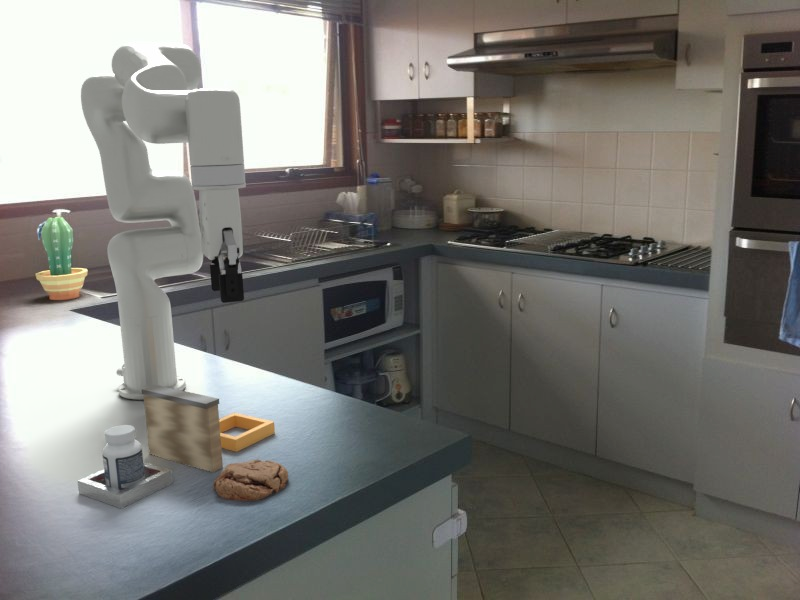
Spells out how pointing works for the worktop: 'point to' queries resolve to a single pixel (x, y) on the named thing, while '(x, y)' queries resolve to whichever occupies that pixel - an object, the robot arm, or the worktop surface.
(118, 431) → the pill bottle
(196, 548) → the worktop surface
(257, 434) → the collar
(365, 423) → the worktop surface
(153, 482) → the collar
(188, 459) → the beige brown upright block
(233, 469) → the cookie
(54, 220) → the potted cactus
